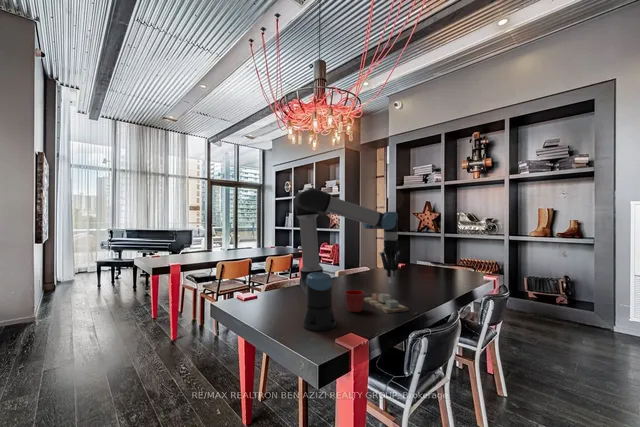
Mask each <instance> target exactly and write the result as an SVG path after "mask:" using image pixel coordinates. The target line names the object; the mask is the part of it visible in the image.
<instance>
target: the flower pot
mask: <svg viewBox="0 0 640 427" xmlns="http://www.w3.org/2000/svg"><path fill="white" fill-rule="evenodd" d="M344 297H345V298H344V299H345V302H346V307H347V311H349V312H351V313H360V312H362V311H363V306H364V298H365V292H364V291H363V290H358V289H351V290H349V289H348V290H345V292H344Z"/></svg>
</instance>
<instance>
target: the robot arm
mask: <svg viewBox="0 0 640 427" xmlns="http://www.w3.org/2000/svg"><path fill="white" fill-rule="evenodd" d="M293 206H294V210H295V217H296V218H297V219H298V220H299V230H300V231H299V232H300V243H301V244H300V245H301V246H300V247H301V257H302V259H301V260H302V267H301V268H300V270H299V271H300V278H299V287H300V288H301V290H302V291H303V292H304V293H305V294H306V310H305V313H304V316H303V322H302V325H303V327H304V328H305V330H309V331H317V332H322V331H324V332H325V331H330V330H331V329H334V328H335V327H336V325H337V320H336V317H335V316H336V315H335V314H334V311H333V303H332V302H333V299H332V296H333V293H332V292H333V290H332V288H333V287H332V286H333V281H332V276H331V275H330V274H329V273H327V272H324V267H322V266H321V265H320V255H319V240H318V228H317V217H319V213H323V214H326V213H331V214H333V215H337V216H340V217H343V218H346V219H349V220H352V221H356V222H359V223H362V226H363V228H364V229H366V230H383V240H384V241H383V251H381V252H379V255H380V257H381V261H382V262H381V263H382V267H383V270H384V271H386V276H387V277H388V281H387V282H388V283H389V284H394V277H395V273H396V271H398V269H399V265H400V261H401V256H402V255H403V252H402V251H399V249H398V247H399V240H398V239H399V236H398V235H399V228H398V227H399V224H398V223H399V216H398V213H397V211H384V212H380V211H376V210H375V209H374V210H373V209H370V208H368V207H364V206H361V205H360V204H359V205H358V204H355V203H352V202H349V201H346V200H345V199H344V200H343V199H341V198H338V197H334V196H333V195H332V194H331V193H329V192H325V191H323V190H320V189H318V188H315V187H305V188H304V189H301V190H299V191H298V192H297V193H296V194H295V195H294V198H293Z"/></svg>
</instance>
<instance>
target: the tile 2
mask: <svg viewBox="0 0 640 427" xmlns="http://www.w3.org/2000/svg"><path fill="white" fill-rule="evenodd" d="M385 301H386V303H385V304H386V306H387V307H389V308H397V307H399V306H398V303H399V301H398V300H395V299H391V300H385Z"/></svg>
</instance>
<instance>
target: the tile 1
mask: <svg viewBox="0 0 640 427" xmlns="http://www.w3.org/2000/svg"><path fill="white" fill-rule="evenodd" d="M391 296H392V295H391V294H388V293H380V294H378V300H379V301H381V302H383V303H384V302H386V301H385V300H392V299H391Z"/></svg>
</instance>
